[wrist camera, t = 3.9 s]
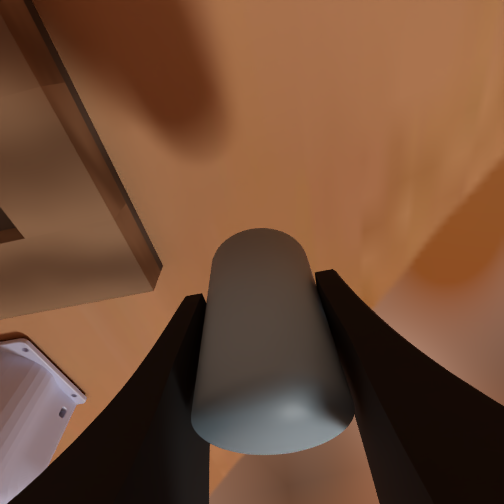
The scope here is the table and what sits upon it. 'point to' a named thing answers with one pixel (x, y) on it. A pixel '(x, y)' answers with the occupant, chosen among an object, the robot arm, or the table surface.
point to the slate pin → (267, 352)
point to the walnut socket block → (58, 186)
